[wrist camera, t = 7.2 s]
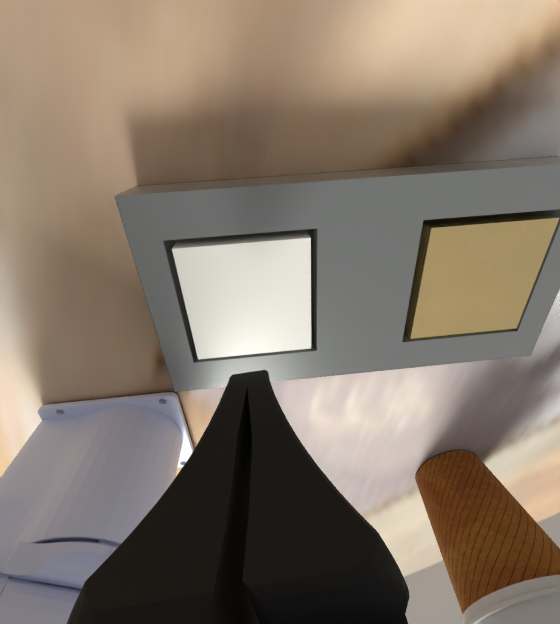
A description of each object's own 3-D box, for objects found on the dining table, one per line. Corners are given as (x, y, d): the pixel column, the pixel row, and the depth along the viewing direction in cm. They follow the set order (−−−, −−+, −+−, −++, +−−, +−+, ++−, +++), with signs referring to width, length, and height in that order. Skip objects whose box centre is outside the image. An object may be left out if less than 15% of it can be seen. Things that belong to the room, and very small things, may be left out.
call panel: (183, 359, 21) (174, 391, 18) (137, 185, 15) (114, 196, 13) (496, 329, 22) (530, 355, 19) (558, 156, 16) (615, 160, 14)
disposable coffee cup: (451, 425, 27) (580, 608, 16) (515, 456, 30) (656, 626, 20) (378, 484, 30) (446, 666, 20) (442, 506, 34) (529, 673, 23)
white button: (204, 329, 20) (198, 359, 17) (183, 231, 16) (171, 248, 14) (303, 320, 20) (311, 348, 17) (301, 221, 17) (310, 237, 14)
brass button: (389, 312, 20) (410, 338, 18) (403, 213, 17) (431, 227, 14) (482, 304, 20) (516, 328, 18) (513, 205, 17) (559, 217, 15)
